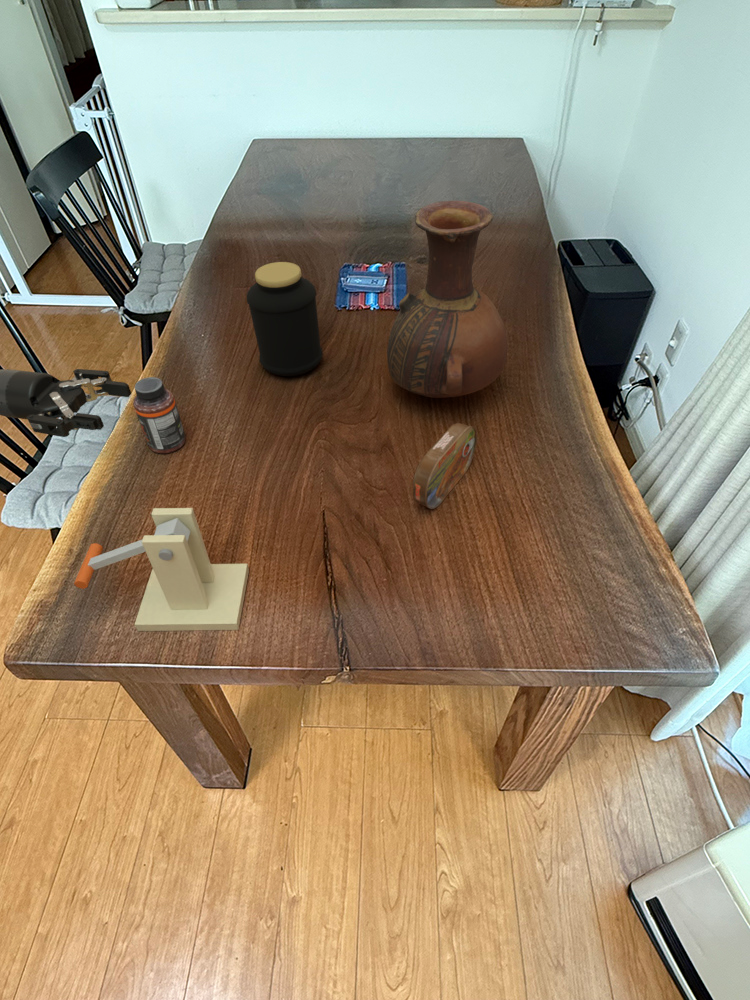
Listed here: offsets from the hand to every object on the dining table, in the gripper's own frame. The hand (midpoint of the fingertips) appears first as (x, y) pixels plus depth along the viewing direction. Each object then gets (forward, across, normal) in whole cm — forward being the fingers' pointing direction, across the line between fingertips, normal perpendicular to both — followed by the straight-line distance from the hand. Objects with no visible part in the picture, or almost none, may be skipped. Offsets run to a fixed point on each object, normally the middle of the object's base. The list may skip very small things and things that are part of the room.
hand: (115, 406), depth 92 cm
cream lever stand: (+24, -27, +7) cm, 37 cm away
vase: (+48, +23, +7) cm, 54 cm away
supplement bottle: (+7, 0, +7) cm, 10 cm away
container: (+20, +26, +7) cm, 33 cm away
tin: (+51, -1, +7) cm, 52 cm away
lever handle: (+19, -28, -2) cm, 34 cm away
